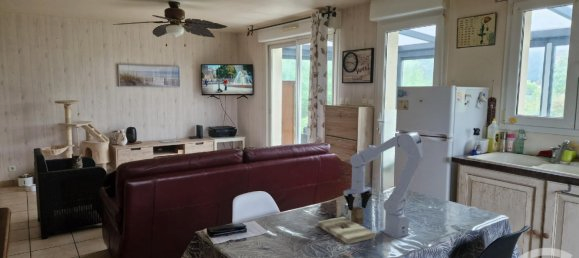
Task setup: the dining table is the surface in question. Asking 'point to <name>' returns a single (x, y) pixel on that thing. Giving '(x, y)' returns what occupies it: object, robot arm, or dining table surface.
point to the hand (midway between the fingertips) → (357, 208)
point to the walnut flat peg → (357, 215)
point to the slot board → (346, 230)
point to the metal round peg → (344, 210)
